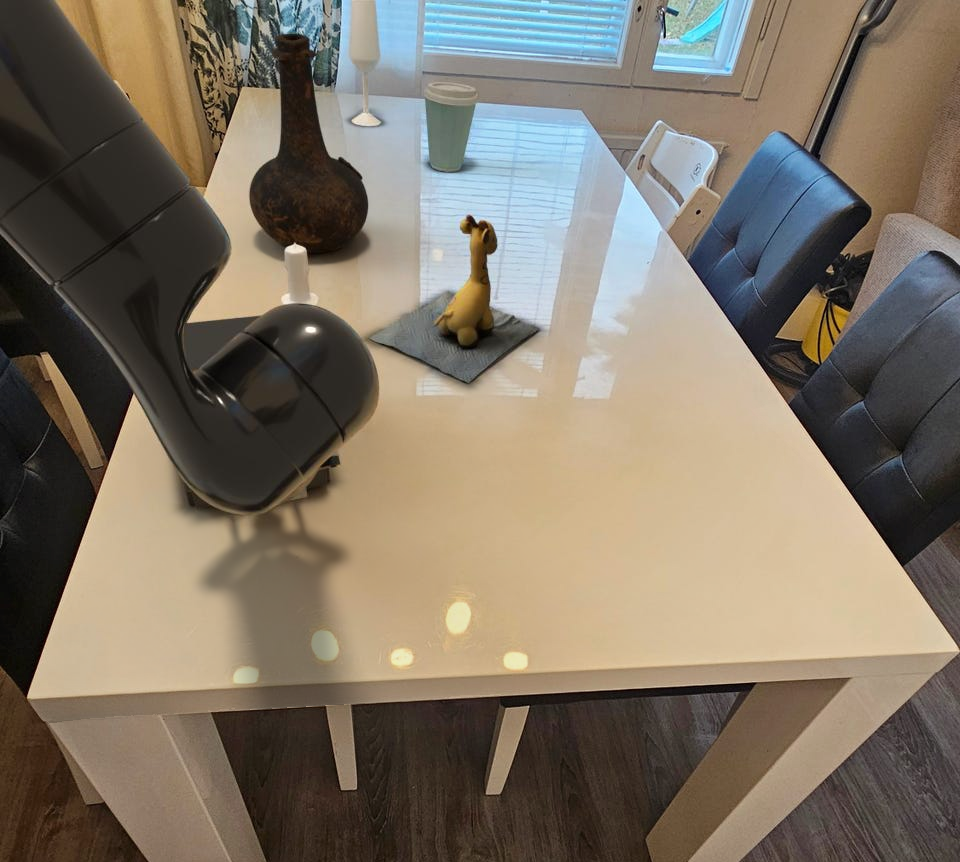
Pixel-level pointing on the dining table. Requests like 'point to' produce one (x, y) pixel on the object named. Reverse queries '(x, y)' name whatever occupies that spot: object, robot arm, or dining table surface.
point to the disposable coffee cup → (448, 123)
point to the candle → (298, 277)
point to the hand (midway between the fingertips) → (260, 472)
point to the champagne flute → (364, 50)
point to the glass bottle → (305, 168)
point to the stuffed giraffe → (460, 319)
